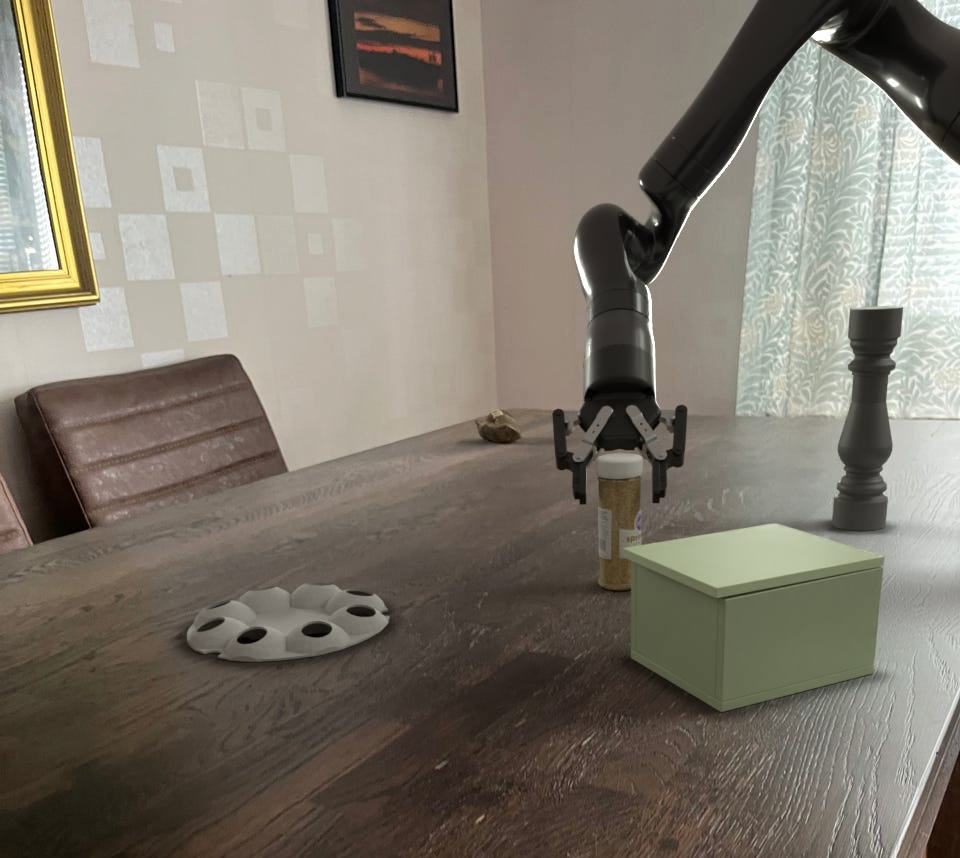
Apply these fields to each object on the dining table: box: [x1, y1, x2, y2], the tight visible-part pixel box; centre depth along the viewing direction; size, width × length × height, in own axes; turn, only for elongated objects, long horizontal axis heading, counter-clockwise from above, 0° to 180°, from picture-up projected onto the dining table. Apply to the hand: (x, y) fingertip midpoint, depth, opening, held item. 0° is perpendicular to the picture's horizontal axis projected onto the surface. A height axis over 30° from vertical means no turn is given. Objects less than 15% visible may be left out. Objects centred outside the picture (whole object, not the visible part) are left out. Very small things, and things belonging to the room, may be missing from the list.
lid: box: [623, 522, 885, 598], centre depth 79 cm, size 15×13×1 cm
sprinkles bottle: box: [596, 452, 644, 592], centre depth 101 cm, size 5×5×14 cm
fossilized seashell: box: [474, 408, 523, 443], centre depth 191 cm, size 8×7×10 cm
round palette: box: [186, 582, 390, 663], centre depth 97 cm, size 20×20×2 cm
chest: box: [630, 561, 884, 713], centre depth 80 cm, size 15×13×9 cm
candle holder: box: [831, 305, 904, 532], centre depth 117 cm, size 6×6×25 cm
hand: (619, 499), depth 99 cm, fingers open, 6 cm apart
